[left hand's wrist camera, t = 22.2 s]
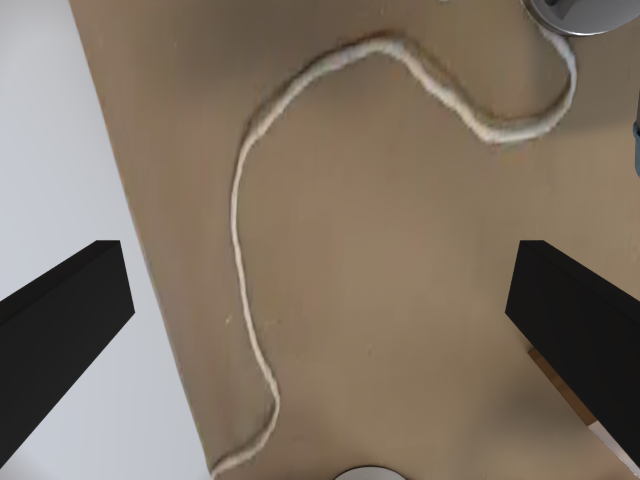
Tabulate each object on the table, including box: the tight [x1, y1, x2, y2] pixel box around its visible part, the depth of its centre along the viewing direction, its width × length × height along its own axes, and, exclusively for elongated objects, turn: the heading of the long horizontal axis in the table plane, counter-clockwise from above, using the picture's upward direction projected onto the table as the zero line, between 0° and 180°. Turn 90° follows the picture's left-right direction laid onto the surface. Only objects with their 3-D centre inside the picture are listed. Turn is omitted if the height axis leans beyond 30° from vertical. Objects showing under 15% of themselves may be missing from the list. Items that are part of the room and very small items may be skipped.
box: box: [528, 348, 640, 479], centre depth 49 cm, size 20×6×13 cm, turn 45°
